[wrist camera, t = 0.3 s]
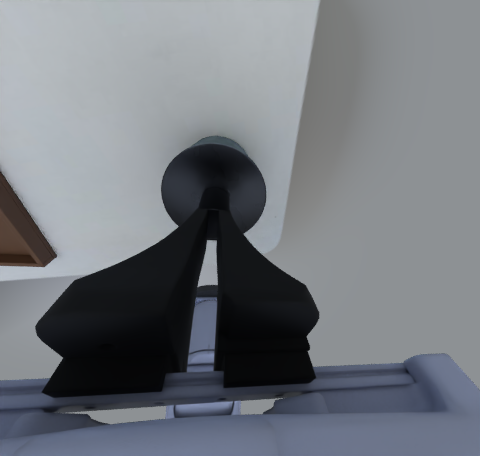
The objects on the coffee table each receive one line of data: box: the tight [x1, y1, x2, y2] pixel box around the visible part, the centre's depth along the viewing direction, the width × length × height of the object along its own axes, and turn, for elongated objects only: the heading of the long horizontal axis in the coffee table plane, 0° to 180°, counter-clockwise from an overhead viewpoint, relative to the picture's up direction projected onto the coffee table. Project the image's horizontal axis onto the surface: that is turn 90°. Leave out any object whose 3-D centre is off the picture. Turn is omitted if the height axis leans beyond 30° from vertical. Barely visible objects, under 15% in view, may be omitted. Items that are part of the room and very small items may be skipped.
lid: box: [161, 143, 266, 240], centre depth 12 cm, size 8×8×4 cm
